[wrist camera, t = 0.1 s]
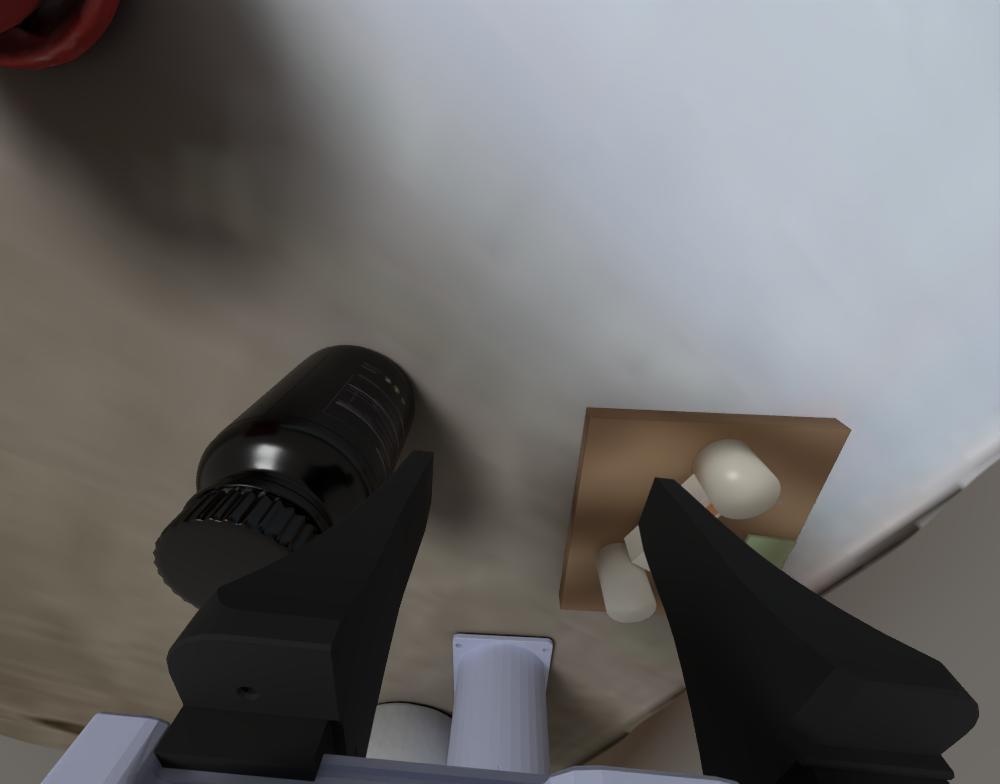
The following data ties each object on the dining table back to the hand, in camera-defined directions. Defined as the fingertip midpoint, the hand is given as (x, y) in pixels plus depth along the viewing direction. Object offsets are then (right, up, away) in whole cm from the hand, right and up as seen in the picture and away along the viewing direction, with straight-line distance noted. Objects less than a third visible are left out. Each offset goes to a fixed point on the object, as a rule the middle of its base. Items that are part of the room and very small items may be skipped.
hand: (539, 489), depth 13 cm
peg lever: (+9, -4, +11) cm, 15 cm away
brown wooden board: (+10, -5, +13) cm, 18 cm away
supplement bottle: (-9, +3, +10) cm, 14 cm away
